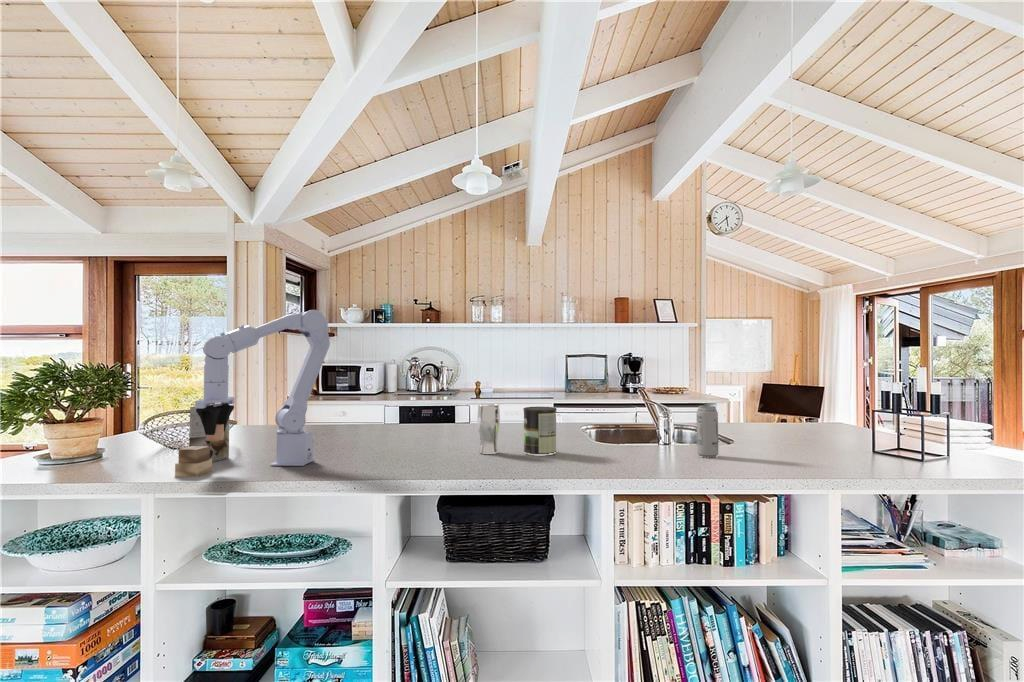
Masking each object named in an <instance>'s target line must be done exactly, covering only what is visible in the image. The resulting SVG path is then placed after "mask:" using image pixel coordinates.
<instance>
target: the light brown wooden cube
mask: <svg viewBox="0 0 1024 682" xmlns="http://www.w3.org/2000/svg"><path fill="white" fill-rule="evenodd" d="M223 439H224V424H216V431H215V434H214V435H206V441H219V440H223Z"/></svg>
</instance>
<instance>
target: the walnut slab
mask: <svg viewBox="0 0 1024 682" xmlns="http://www.w3.org/2000/svg"><path fill="white" fill-rule="evenodd" d="M207 460H210V446H191V447H189V446H187V447H183V448H178V463H200V462H203V461H207Z"/></svg>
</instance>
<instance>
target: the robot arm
mask: <svg viewBox="0 0 1024 682" xmlns="http://www.w3.org/2000/svg"><path fill="white" fill-rule="evenodd" d="M328 326H329V322H328V320H327V319H326V317H325V316H324V314H323V313H322V312H321V311H319V310H317V309H309V310H308V311H302V312H297V313H292V314H291V313H290V314H287V315H284V316H282V317H280V318H277V319H274V320H271V321H269V322H267V323H265V324H262V325H259V326H257V327H254V326H251V325H250V324H249V325H245V326H244V324H241V325H238V326H237V329H234V330H230V331H228V332H224V331H223V332H220V333H219V335H215V336H214V337H211V338H209V339H207V341H205V342H204V345H203V347H202V351H203V354H204V355H205V357H204V366H203V398H199V400H195V401H194V403H195V404H194V407H195V408H196V412H197V413H198V415H199V417H200V419H201V421H202V424H203V427H204V431H205V435H214V434H215V431H216V424H224V432H225V429H226V425H227V422H228V419H229V420H230V416H231V414H232V412H233V411H234V409H235V396H229V370H230V369H229V355H230V353H233V354H235V353H238V352H240V351H244V350H245V349H249V348H251V347H253V346H256V345H257V344H258V343H259V340H260V339H261V338H264V337H266V336H270V335H272V334H275V333H279V332H281V331H284V330H286V329H289V330H293V331H295V330H298V332H300V333H301V334H303V336H305V339H306V341H307V342H308V344H309V348H308V350H307V353H306V356H305V357H304V358H305V359H304V360H303V363H302V365H301V368H300V370H299V372H298V375H297V378H296V379H295V382H294V384H293V386H292V389H291V392H290V394H289V397H287V399H286V400H285V402H284V403H283V406H282V407H281V408H280V409H279V410H278V411H277V413H276V414H275V416H274V417H275V420H274V421H275V423H276V425H277V426H278V428H277V430H276V439H275V440H276V446H275V447H276V449H275V450H276V451H275V452H276V455H275V457H276V459H275V460H276V461H274V462H272V463H269V466H272V467H275V466H278V467H279V466H280V467H282V466H283V467H284V466H286V467H289V466H290V467H298V466H299V467H301V466H302V467H303V466H306V465H307V464H309V463H311V462H314V461H315V458H314V437H313V434H312V433H311V432H307V431H305V429H304V427H305V424H306V421H307V419H306V414H307V411H308V401H309V398H310V395H311V393H312V391H313V389H314V386H315V384H316V381H317V378H318V376H319V373H320V370H321V369H322V366H323V363H324V360H325V358H326V356H327V353H328V351H329V348H330V346H331V342H330V341H331V340H330V336H329V329H328Z"/></svg>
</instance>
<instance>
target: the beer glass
mask: <svg viewBox="0 0 1024 682" xmlns="http://www.w3.org/2000/svg"><path fill="white" fill-rule="evenodd" d="M500 423H501V415H500V404H496V403H495V404H493V403H484V404H478V406H477V427H478V432H479V439H480V440H479V441H480V443H479V444H480V445H479V449H478V450H479V451H478V453H479V452H482V453H492V452H497V451H499V446H498V445H499V444H498V438H499V432H500V431H499V430H500Z"/></svg>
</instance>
